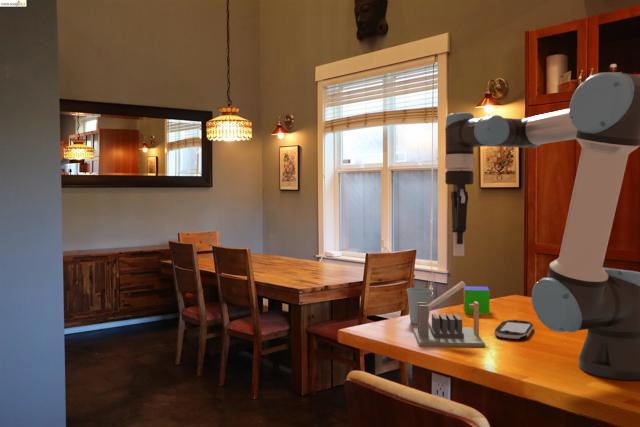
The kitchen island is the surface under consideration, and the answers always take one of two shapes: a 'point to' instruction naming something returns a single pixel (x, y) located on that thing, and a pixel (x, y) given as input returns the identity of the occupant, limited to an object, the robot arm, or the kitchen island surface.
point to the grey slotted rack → (446, 329)
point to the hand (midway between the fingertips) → (458, 255)
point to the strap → (446, 294)
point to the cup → (415, 297)
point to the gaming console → (513, 330)
